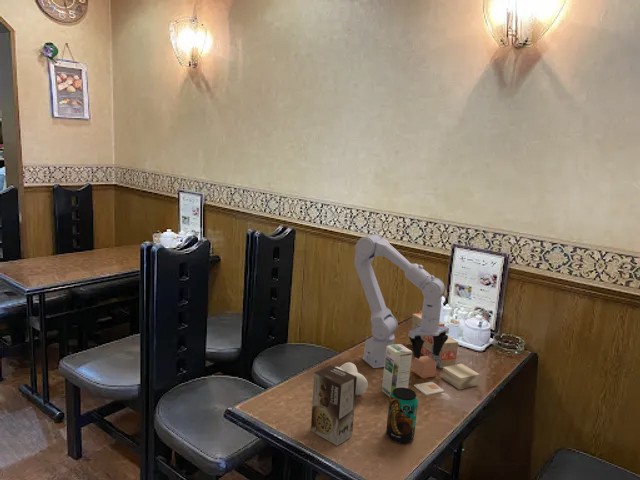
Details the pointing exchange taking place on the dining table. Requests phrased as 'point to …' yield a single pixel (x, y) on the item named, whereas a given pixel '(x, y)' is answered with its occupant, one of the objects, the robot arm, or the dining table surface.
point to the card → (429, 388)
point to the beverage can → (402, 415)
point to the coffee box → (333, 404)
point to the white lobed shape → (361, 380)
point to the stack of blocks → (447, 350)
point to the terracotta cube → (425, 367)
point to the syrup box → (396, 368)
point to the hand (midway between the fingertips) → (426, 356)
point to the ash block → (460, 376)
